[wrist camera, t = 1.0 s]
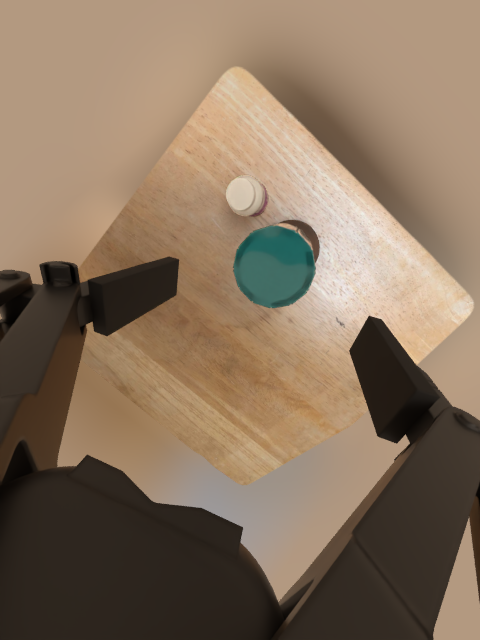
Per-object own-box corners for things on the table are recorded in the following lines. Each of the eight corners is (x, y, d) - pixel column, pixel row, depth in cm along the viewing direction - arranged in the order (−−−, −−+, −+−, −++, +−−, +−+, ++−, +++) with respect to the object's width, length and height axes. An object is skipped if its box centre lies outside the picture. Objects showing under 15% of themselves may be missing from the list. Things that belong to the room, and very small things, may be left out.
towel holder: (271, 213, 38) (242, 210, 20) (328, 227, 37) (349, 236, 19) (257, 269, 43) (224, 304, 25) (307, 283, 41) (308, 330, 24)
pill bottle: (234, 209, 39) (215, 207, 31) (245, 176, 37) (227, 164, 28) (261, 221, 39) (249, 222, 30) (274, 189, 36) (265, 180, 28)
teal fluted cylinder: (262, 217, 29) (243, 216, 20) (321, 233, 28) (329, 239, 19) (248, 274, 33) (227, 294, 24) (299, 290, 32) (297, 317, 23)
